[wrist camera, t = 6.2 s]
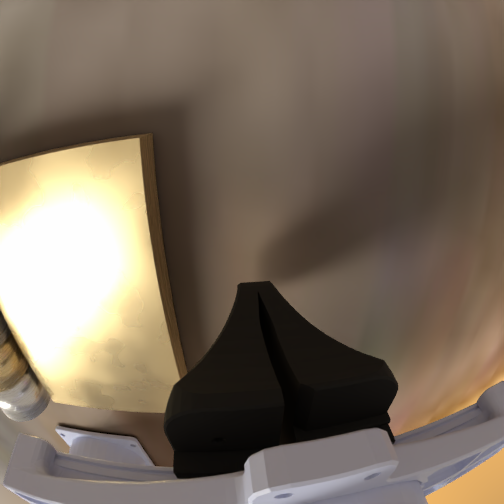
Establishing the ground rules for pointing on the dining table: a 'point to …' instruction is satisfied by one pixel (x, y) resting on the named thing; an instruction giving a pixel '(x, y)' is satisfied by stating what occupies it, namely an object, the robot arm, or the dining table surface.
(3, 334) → the steel leaf
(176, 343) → the plate
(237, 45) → the dining table surface
